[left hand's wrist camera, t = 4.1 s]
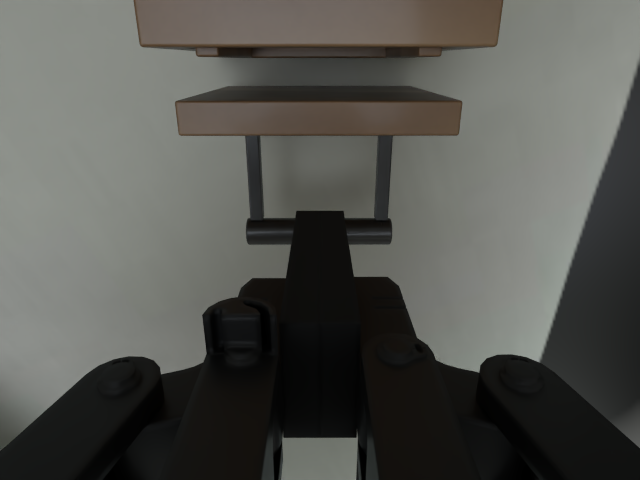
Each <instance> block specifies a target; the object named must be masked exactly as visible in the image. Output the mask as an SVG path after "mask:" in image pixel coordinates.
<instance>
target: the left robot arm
mask: <svg viewBox="0 0 640 480" xmlns="http://www.w3.org/2000/svg"><path fill="white" fill-rule="evenodd" d="M202 316H203V325H204V333H205V342H206V351H207V354H206V357H205V360H204V362H203V363H201V364H199V365H197V366H195V367H191V368H188V369H184V370H180V371H176V372H171V373H166V374H161V372H160V367H159V366H158V365H157V364H156V363H155V361H154V360H151V359H148V358H145V357H130V356H129V357H123V358H118V359H114V360H111V361H109V362H107V363H104V364H102V365H99V366H98V367H96V368H95V369H93V370H92V371H90V372H89V373H87V374H86V375H85V376H84V377H83V378H82V379H81V380H79V381H78V382H77V383H76V384H75V385H74V386H73V387H72V388H71V389H69V390H68V391H67V392H66V393H65V394H64V395H63V396H62V397H60V398H59V399H58V400H57V401H56V402H55V403H54V404H53V405H52V406H50V407H49V408H48V409H47V410H46V411H45V412H44V413H43V414H42V415H40V416H39V417H38V418H37V419H36V420H35V421H34V422H33V423H31V424H30V425H29V426H28V427H27V428H26V429H25V430H24V431H23V432H21V433H20V434H19V435H18V436H17V437H16V438H15V439H14V440H13V441H11V442H10V443H9V444H8V445H7V446H6V447H5V448H4V449H2V450H1V451H0V480H281V475H282V464H283V452H282V435H283V437H284V438H356V437H357V433H358V452H357V475H356V480H640V448H639V447H638V446H637V445H635V444H634V443H633V442H632V441H631V440H630V439H629V438H628V437H626V436H625V435H624V434H623V433H622V432H621V431H620V430H618V429H617V428H616V427H615V426H614V425H613V424H612V423H611V422H610V421H608V420H607V419H606V418H605V417H604V416H603V415H602V414H601V413H599V412H598V411H597V410H596V409H595V408H594V407H593V406H592V405H590V404H589V403H588V402H587V401H586V400H585V399H584V398H583V397H581V396H580V395H579V394H578V393H577V392H576V391H575V390H573V389H572V388H571V387H570V386H569V385H568V384H567V383H566V382H565V381H563V380H562V379H561V378H560V377H559V376H558V375H557V374H556V373H554V372H553V371H552V370H550V369H549V368H547V367H546V366H544V365H543V364H541V363H539V362H536V361H534V360H532V359H529V358H527V357H522V356H518V355H496V356H493V357H490V358H487V359H486V360H485V361H484V362H483V363H482V364H481V366H480V372H479V373H478V372H474V371H469V370H464V369H459V368H455V367H452V366H448V365H445V364H443V363H441V362H439V361H436V359H435V356H434V354H433V352H432V351H431V349H430V348H429V346H428V345H427V344H425V343H424V342H422V341H421V340H419V339H418V338H417V336H416V334H415V331H414V328H413V325H412V322H411V319H410V316H409V314H408V311H407V309H406V305H405V302H404V299H403V297H402V294H401V291H400V288H399V286H398V285H397V284H396V283H394V282H393V281H392V280H391V279H390V278H388V277H354V275H353V269H352V262H351V256H350V250H349V243H348V237H347V230H346V224H345V218H344V211H296V218H295V224H294V230H293V237H292V243H291V250H290V256H289V262H288V269H287V275H286V278H252V279H251V280H250V281H249V282H247V283H246V284H245V285H244V286H243V287H241V290H240V293H239V295H238V297H236V298H230V299H226V300H223V301H220V302H217V303H216V304H214V305H212V306H210V307H209V308H208V309H207V310H206V311H205V312H204V314H203V315H202Z"/></svg>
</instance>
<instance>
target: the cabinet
mask: <svg viewBox="0 0 640 480" xmlns="http://www.w3.org/2000/svg"><path fill="white" fill-rule="evenodd" d="M134 6H135V14H136V21H137V28H138V35H139V42H140V45H141V46H142V47H148V48H161V49H175V50H188V51H196V49H195V48H442V51H447V50H460V49H473V48H485V47H495V46H496V45H497V43H498V35H499V28H500V21H501V13H502V6H503V0H134Z"/></svg>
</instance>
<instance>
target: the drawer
mask: <svg viewBox="0 0 640 480" xmlns="http://www.w3.org/2000/svg"><path fill="white" fill-rule="evenodd" d="M195 49H196V55H197V56H198V57H228V58H406V57H438V56H441V53H442V48H195ZM175 106H176V115H177V123H178V132H179V135H181V136H245V138H246V154H247V170H248V186H249V202H250V218H248V220H247V224H246V238H247V243H248V244H249V245H291V243H292V237H293V230H294V224H295V218H264V203H263V183H262V163H261V143H260V136H378V143H377V165H376V186H375V207H374V217H375V218H345V224H346V230H347V237H348V243H349V245H359V244H390V243H391V240H392V222H391V219H390V218H388V205H389V188H390V172H391V155H392V138H393V136H417V135H458V134H459V128H460V119H461V110H462V101H460V100H456V99H453V98H449V97H446V96H442V95H439V94H436V93H432V92H429V91H425V90H422V89H418V88H415V87H411V86H227V87H224V88H220V89H217V90H213V91H210V92H206V93H203V94H199V95H196V96H192V97H189V98H185V99H182V100H178V101H176V102H175Z"/></svg>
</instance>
